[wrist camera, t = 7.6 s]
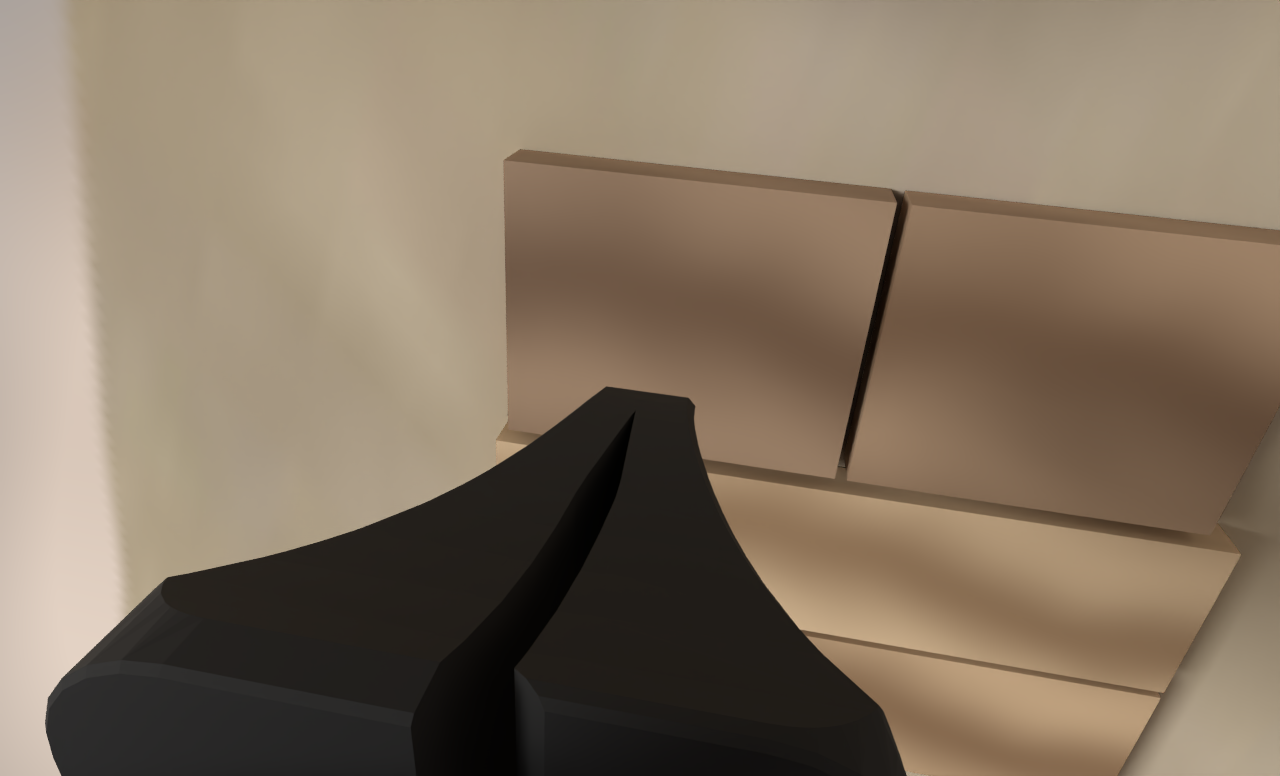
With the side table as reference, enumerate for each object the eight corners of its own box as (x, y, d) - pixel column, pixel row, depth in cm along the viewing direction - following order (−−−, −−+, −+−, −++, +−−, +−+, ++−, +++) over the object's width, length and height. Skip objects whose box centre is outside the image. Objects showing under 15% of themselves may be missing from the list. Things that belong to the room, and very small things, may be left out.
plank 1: (832, 453, 21) (835, 478, 20) (522, 407, 22) (508, 429, 21) (890, 189, 17) (897, 202, 16) (519, 149, 18) (503, 160, 17)
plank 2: (1188, 505, 20) (1210, 535, 19) (844, 454, 21) (847, 480, 20) (1324, 235, 16) (1360, 253, 15) (905, 190, 17) (912, 205, 16)
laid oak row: (1085, 772, 24) (1098, 808, 23) (514, 664, 27) (502, 693, 26) (1217, 523, 20) (1241, 554, 19) (510, 418, 22) (495, 440, 21)
